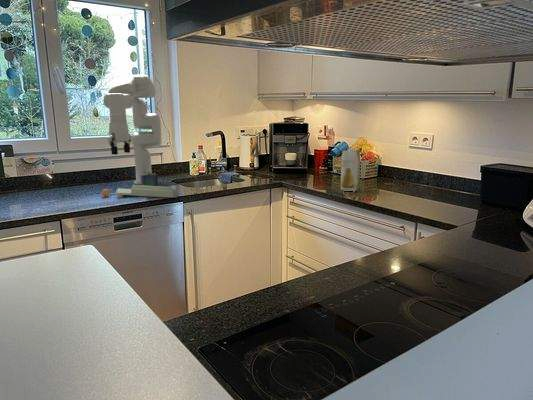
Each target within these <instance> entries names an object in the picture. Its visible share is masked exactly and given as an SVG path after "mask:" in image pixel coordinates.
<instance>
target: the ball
mask: <svg viewBox="0 0 533 400" xmlns="http://www.w3.org/2000/svg"><path fill="white" fill-rule="evenodd" d="M110 194H111V191H110V190H109V189H108V188H103V189H102V190H101V195H102V196H103V198H108V197H107V196H110Z"/></svg>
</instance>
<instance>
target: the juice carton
mask: <svg viewBox="0 0 533 400" xmlns="http://www.w3.org/2000/svg"><path fill="white" fill-rule="evenodd" d="M340 166H341V167H340V168H341V169H340V189H341V190H343V191H342V192H344V191H353V192H352V193H355V191H356V192H358V190H359V187H360V169H361V168H360V167H361V154H360V150H359V149H357V150H354V149H353V148H351V147H349V148H348V149H345V150H344V149H343V151H342V154H341V165H340Z"/></svg>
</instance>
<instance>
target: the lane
mask: <svg viewBox="0 0 533 400" xmlns="http://www.w3.org/2000/svg"><path fill="white" fill-rule="evenodd" d="M115 194H116V196H117V198H118V199H119V198H124V196H139V197H154V198H155V197H156V198H157V197H159V198H178V193H177V188H176V185H175V184H174V185H173V184H171V185H170V186H162V185H161V186H159V185H158V186H144V185H141V184H131V188H119V187H118V188H117V190H116V193H115Z"/></svg>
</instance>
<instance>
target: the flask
mask: <svg viewBox="0 0 533 400" xmlns="http://www.w3.org/2000/svg"><path fill="white" fill-rule="evenodd" d="M140 185H144V186H159V184H158V174H157V173H154V172H152V173H150V171H148V172H147V174H145V175H141V184H140Z"/></svg>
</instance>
